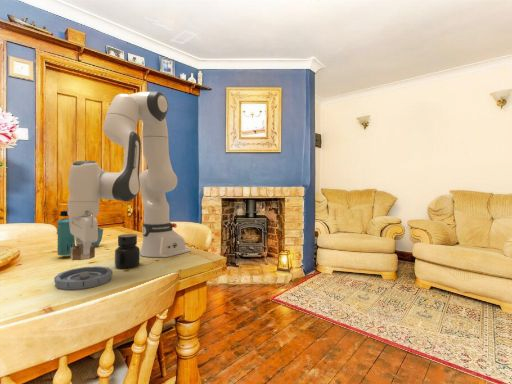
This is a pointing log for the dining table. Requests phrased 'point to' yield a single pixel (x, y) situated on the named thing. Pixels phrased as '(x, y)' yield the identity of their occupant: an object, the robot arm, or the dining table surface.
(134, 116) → the robot arm
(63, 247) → the beverage bottle
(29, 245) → the dining table surface
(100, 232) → the flower pot
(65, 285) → the groove tray
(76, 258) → the bead loop
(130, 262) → the ink bottle
